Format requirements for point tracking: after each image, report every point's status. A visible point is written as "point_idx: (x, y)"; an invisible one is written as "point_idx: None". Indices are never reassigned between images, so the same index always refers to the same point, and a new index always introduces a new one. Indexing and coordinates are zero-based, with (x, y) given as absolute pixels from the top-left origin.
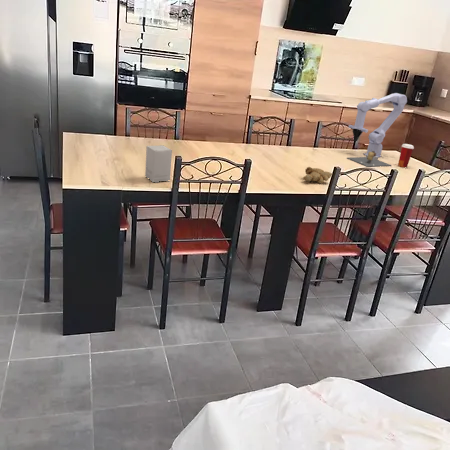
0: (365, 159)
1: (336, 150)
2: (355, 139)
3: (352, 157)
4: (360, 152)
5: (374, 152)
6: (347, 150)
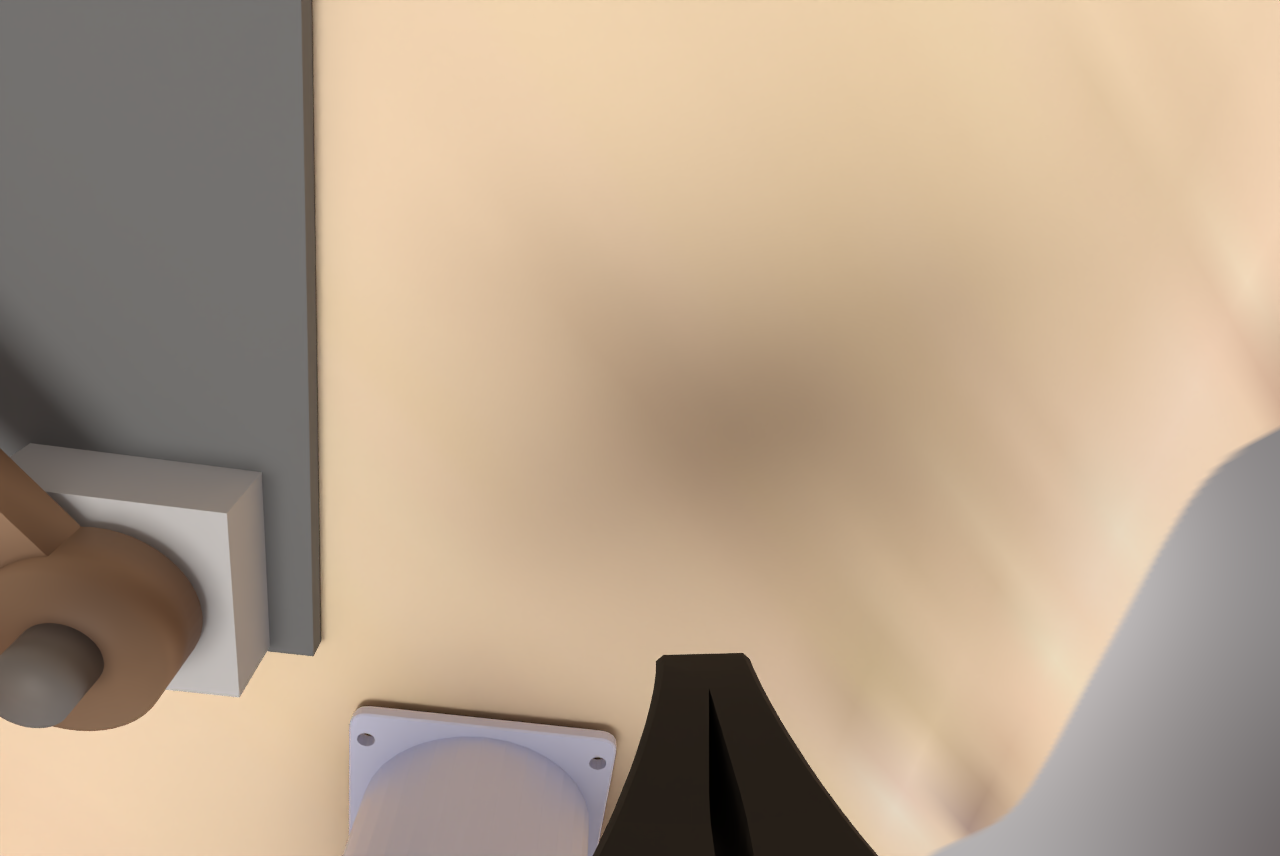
0: (73, 307)
1: (1140, 310)
2: (655, 697)
3: (294, 24)
4: None
5: (99, 726)
6: (992, 630)
